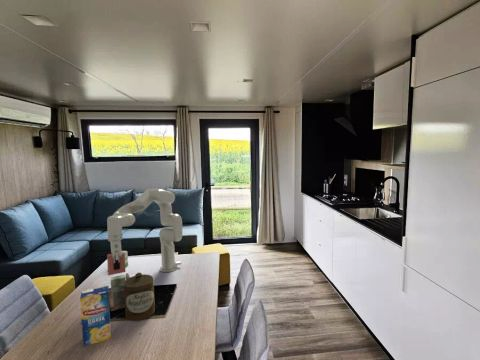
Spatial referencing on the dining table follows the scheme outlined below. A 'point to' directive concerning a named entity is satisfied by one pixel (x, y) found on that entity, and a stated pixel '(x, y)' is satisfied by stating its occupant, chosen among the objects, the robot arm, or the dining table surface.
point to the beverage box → (95, 315)
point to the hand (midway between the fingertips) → (116, 267)
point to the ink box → (126, 258)
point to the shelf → (117, 292)
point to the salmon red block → (111, 264)
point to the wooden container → (139, 297)
